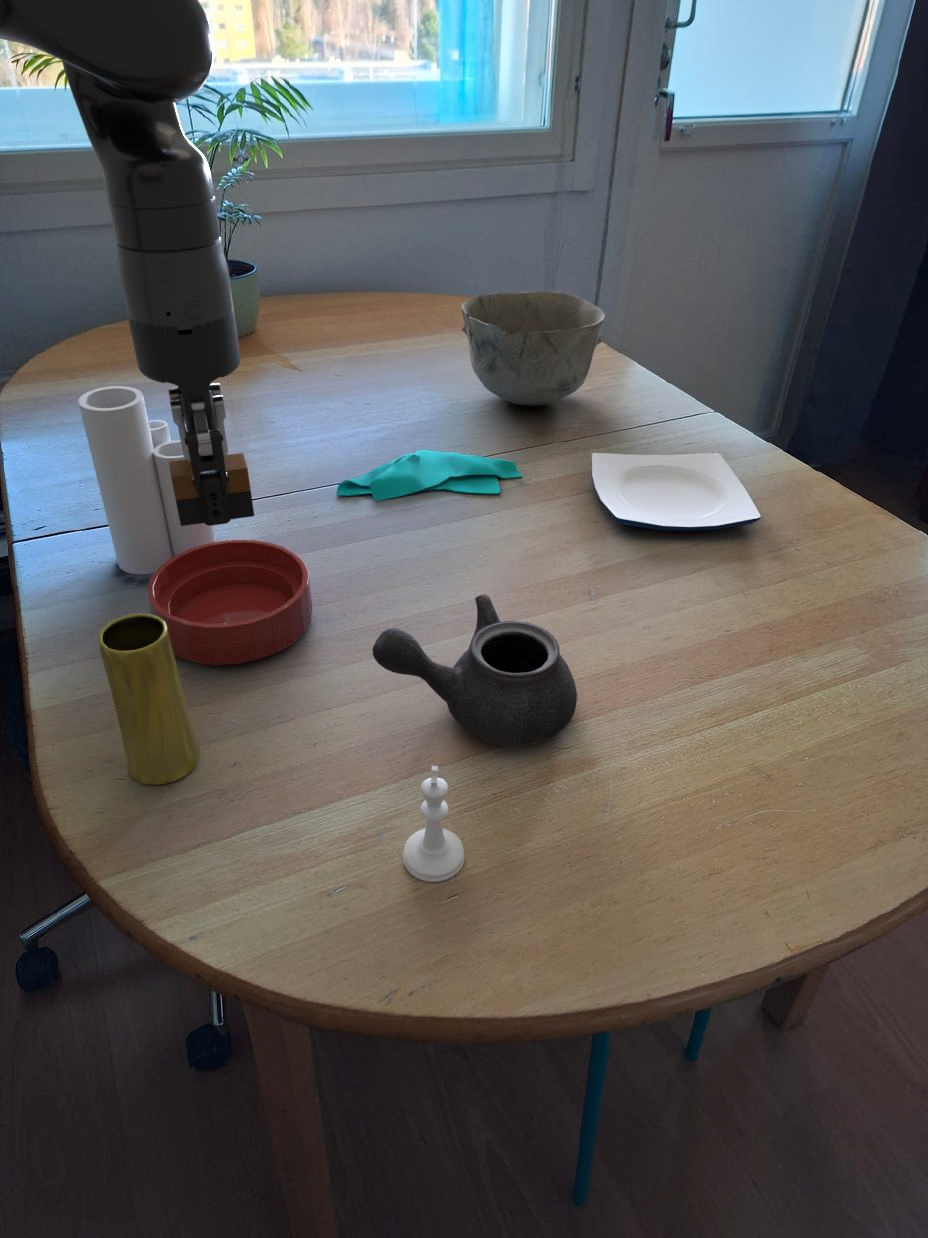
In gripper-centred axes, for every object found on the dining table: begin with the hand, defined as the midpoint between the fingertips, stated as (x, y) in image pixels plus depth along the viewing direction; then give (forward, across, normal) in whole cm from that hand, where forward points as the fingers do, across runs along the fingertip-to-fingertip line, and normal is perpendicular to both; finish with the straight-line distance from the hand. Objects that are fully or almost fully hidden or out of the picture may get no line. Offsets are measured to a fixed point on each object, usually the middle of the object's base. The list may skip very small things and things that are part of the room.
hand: (215, 511), depth 74 cm
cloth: (+20, -38, +30) cm, 52 cm away
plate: (+20, -23, +59) cm, 66 cm away
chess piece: (+20, +25, +12) cm, 34 cm away
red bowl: (+20, -11, 0) cm, 22 cm away
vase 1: (+20, -27, -6) cm, 34 cm away
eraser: (0, 0, 0) cm, 0 cm away
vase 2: (+20, +8, -8) cm, 23 cm away
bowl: (+20, -61, +53) cm, 83 cm away
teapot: (+20, +9, +21) cm, 30 cm away
